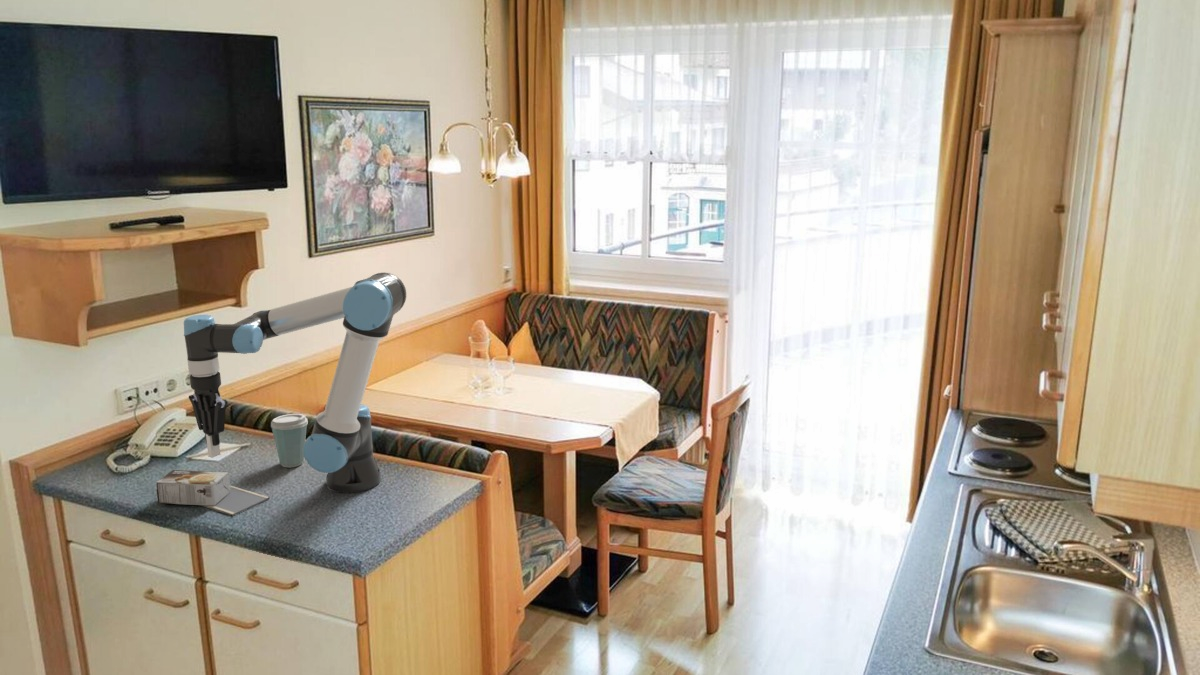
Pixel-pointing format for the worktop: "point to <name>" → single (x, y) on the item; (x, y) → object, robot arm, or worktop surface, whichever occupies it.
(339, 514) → the worktop surface
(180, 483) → the coffee box
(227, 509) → the felt mat
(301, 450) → the disposable coffee cup
